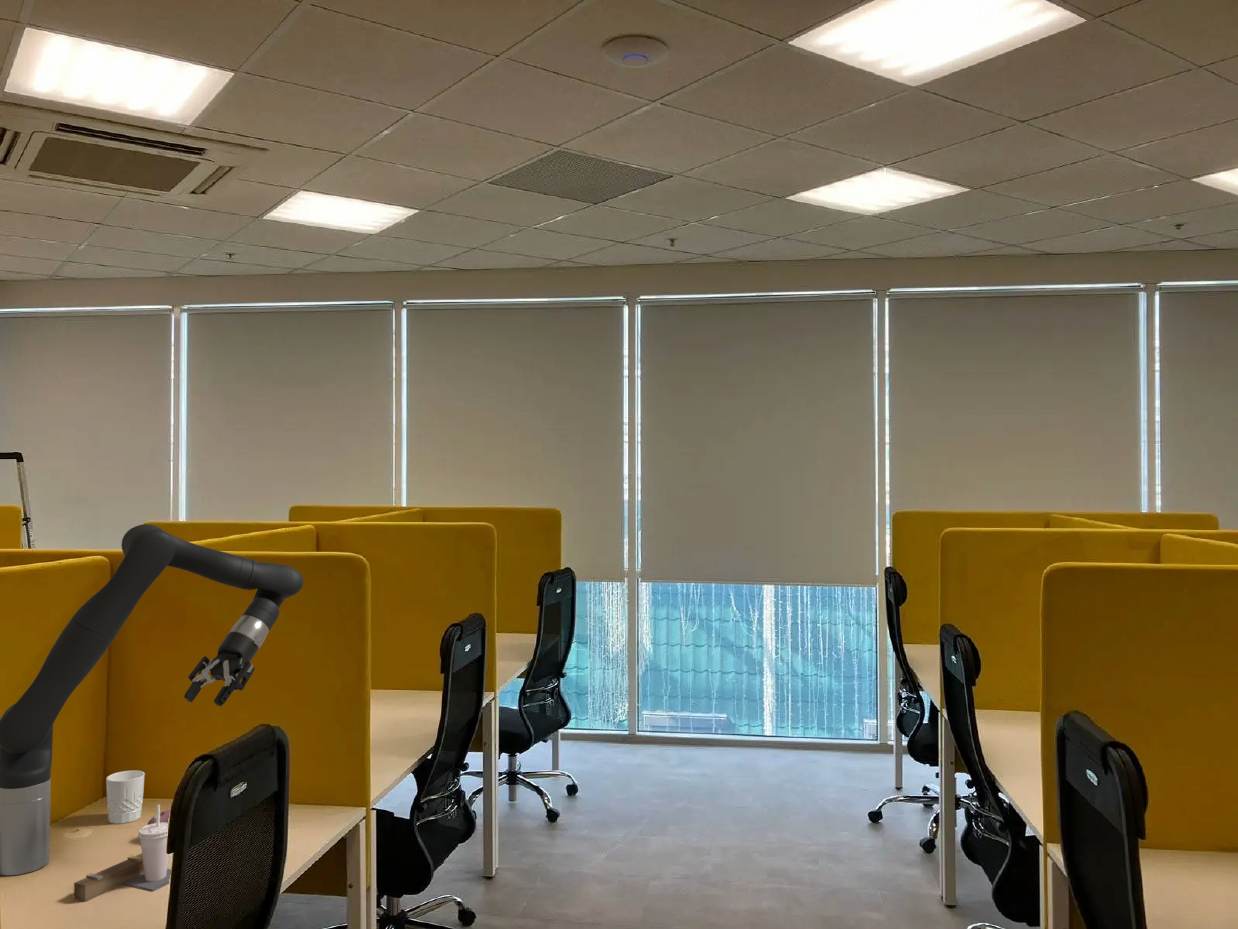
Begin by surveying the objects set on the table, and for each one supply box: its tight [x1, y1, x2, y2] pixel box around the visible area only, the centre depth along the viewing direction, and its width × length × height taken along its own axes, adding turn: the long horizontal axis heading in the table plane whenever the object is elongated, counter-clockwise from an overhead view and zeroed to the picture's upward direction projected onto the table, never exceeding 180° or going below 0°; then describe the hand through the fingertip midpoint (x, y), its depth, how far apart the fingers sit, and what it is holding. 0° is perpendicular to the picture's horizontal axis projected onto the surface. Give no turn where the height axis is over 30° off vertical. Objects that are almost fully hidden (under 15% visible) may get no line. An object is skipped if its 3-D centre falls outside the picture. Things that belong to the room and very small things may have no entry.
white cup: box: [105, 769, 146, 825], centre depth 211 cm, size 8×8×10 cm
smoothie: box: [137, 804, 170, 881], centre depth 179 cm, size 6×6×14 cm
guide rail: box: [73, 852, 144, 902], centre depth 177 cm, size 3×16×3 cm, turn 158°
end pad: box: [122, 868, 172, 892], centre depth 179 cm, size 8×8×1 cm
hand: (202, 702), depth 194 cm, fingers open, 8 cm apart
